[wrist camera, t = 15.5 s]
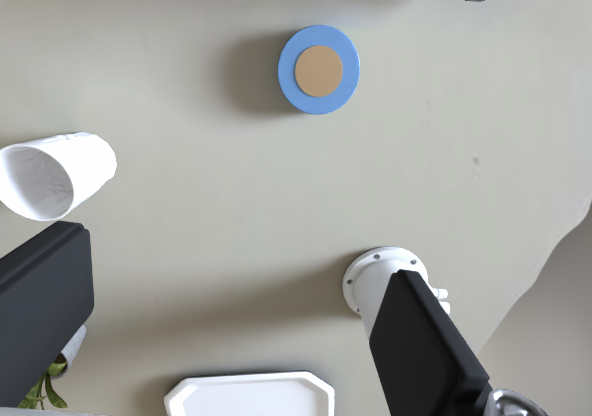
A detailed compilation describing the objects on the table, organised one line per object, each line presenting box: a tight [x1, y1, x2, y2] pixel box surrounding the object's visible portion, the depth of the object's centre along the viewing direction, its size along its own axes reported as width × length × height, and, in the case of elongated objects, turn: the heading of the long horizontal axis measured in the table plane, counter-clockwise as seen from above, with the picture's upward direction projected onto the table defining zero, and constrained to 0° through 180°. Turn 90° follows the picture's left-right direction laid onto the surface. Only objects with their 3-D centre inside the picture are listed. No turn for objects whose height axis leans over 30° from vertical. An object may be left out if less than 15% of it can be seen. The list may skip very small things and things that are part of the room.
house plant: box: [17, 324, 87, 410], centre depth 43 cm, size 14×14×16 cm
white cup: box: [0, 132, 117, 221], centre depth 36 cm, size 8×8×10 cm
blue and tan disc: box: [278, 25, 360, 114], centre depth 37 cm, size 9×9×2 cm
